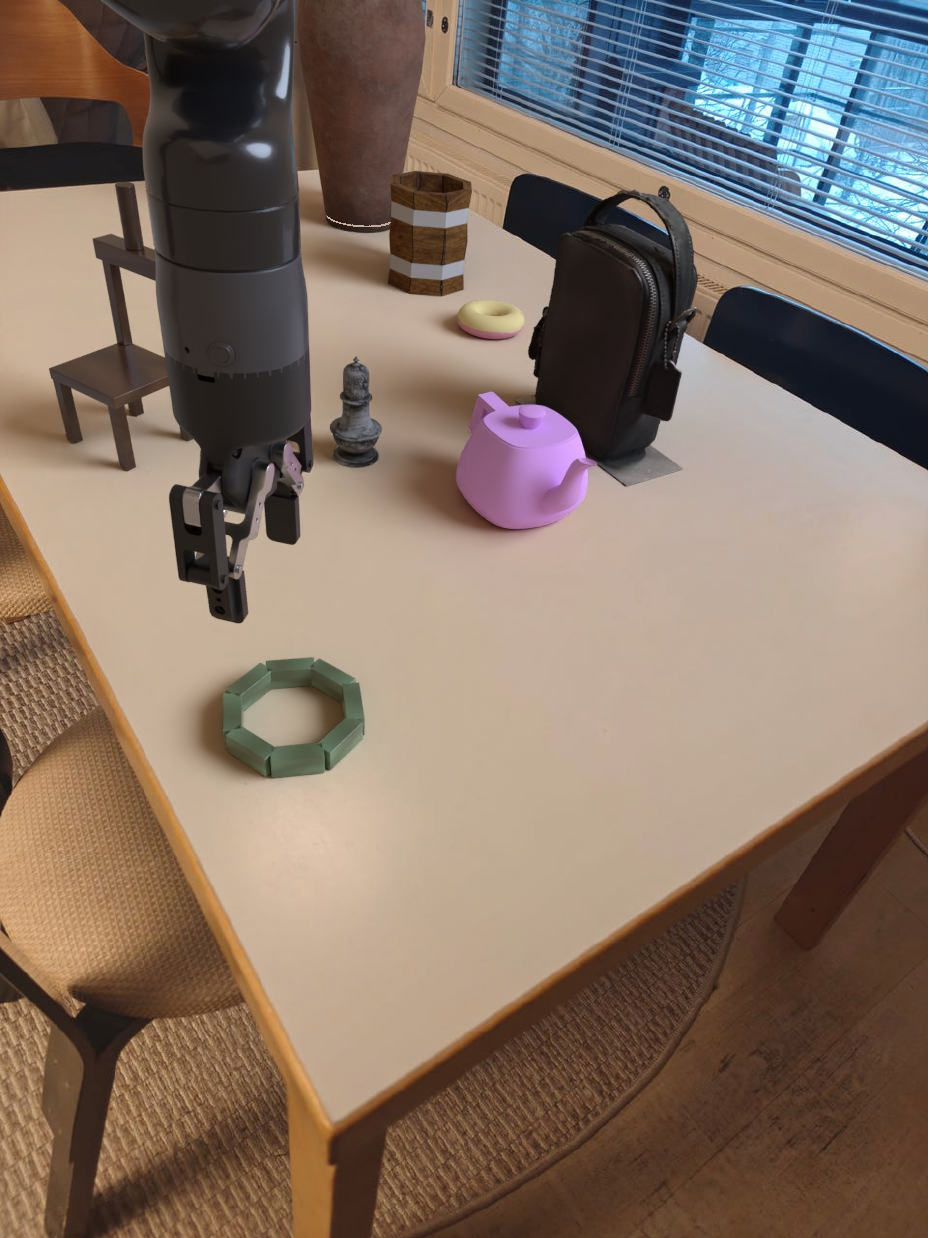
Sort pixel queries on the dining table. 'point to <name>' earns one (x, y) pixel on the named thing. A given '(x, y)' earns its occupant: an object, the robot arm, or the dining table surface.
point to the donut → (490, 319)
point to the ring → (301, 755)
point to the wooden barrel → (428, 232)
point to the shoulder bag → (616, 336)
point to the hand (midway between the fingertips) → (258, 576)
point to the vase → (361, 100)
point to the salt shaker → (355, 420)
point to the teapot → (522, 464)
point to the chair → (123, 365)
